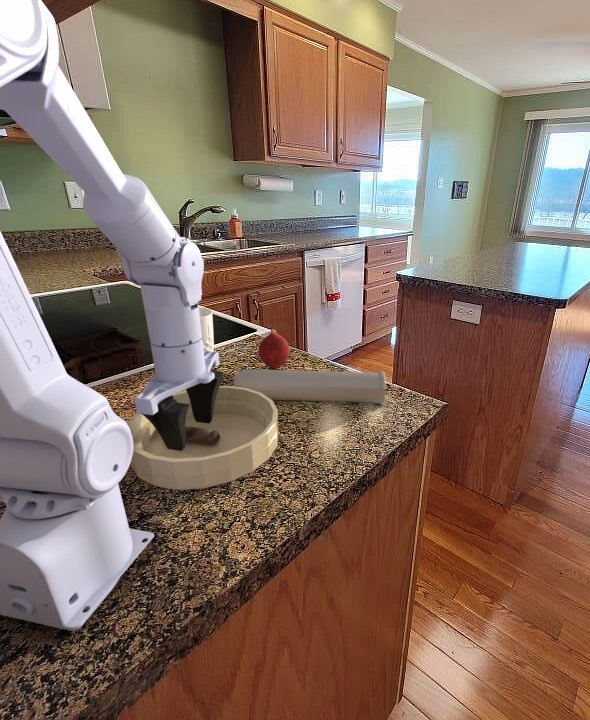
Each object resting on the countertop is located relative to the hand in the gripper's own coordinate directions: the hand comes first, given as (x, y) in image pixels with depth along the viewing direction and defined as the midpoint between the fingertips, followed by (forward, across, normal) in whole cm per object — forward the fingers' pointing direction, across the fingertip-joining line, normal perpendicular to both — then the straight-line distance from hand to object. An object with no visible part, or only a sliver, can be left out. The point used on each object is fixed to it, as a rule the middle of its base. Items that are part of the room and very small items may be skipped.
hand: (190, 434), depth 53 cm
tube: (+2, +16, -12) cm, 20 cm away
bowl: (+2, 0, -2) cm, 3 cm away
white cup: (+2, +25, +14) cm, 29 cm away
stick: (+1, 0, 0) cm, 1 cm away
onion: (+2, +26, -2) cm, 26 cm away
